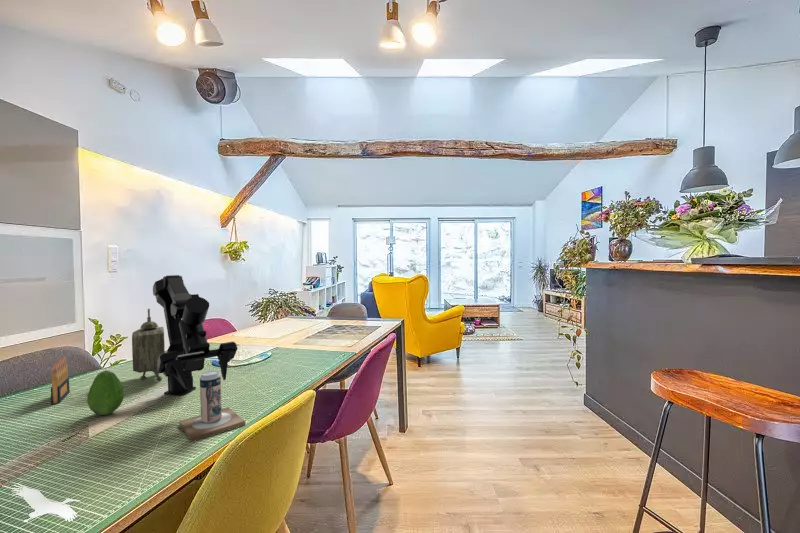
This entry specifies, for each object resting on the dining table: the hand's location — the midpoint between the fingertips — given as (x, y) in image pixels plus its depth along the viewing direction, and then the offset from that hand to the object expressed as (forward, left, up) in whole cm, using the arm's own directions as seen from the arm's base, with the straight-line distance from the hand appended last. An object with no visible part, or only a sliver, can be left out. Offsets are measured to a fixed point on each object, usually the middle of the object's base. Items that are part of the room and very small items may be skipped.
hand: (206, 383), depth 96 cm
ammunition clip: (-57, +6, -10) cm, 58 cm away
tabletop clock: (-45, +26, -10) cm, 52 cm away
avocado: (-31, -1, -10) cm, 32 cm away
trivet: (+3, -2, -10) cm, 10 cm away
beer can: (+3, -2, -9) cm, 9 cm away
